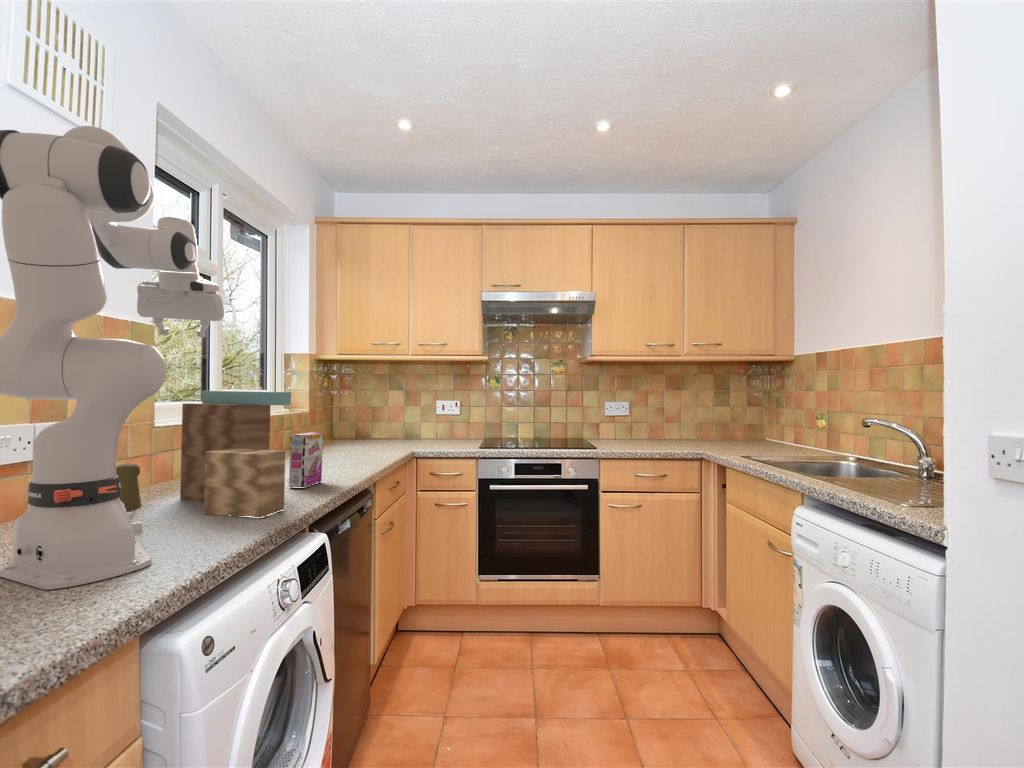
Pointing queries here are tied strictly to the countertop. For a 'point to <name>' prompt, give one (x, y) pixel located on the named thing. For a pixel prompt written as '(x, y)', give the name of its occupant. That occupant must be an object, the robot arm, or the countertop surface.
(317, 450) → the candy bar box
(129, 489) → the cork
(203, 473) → the walnut stand
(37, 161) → the robot arm
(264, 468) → the oak block
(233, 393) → the teal bar
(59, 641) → the countertop surface
